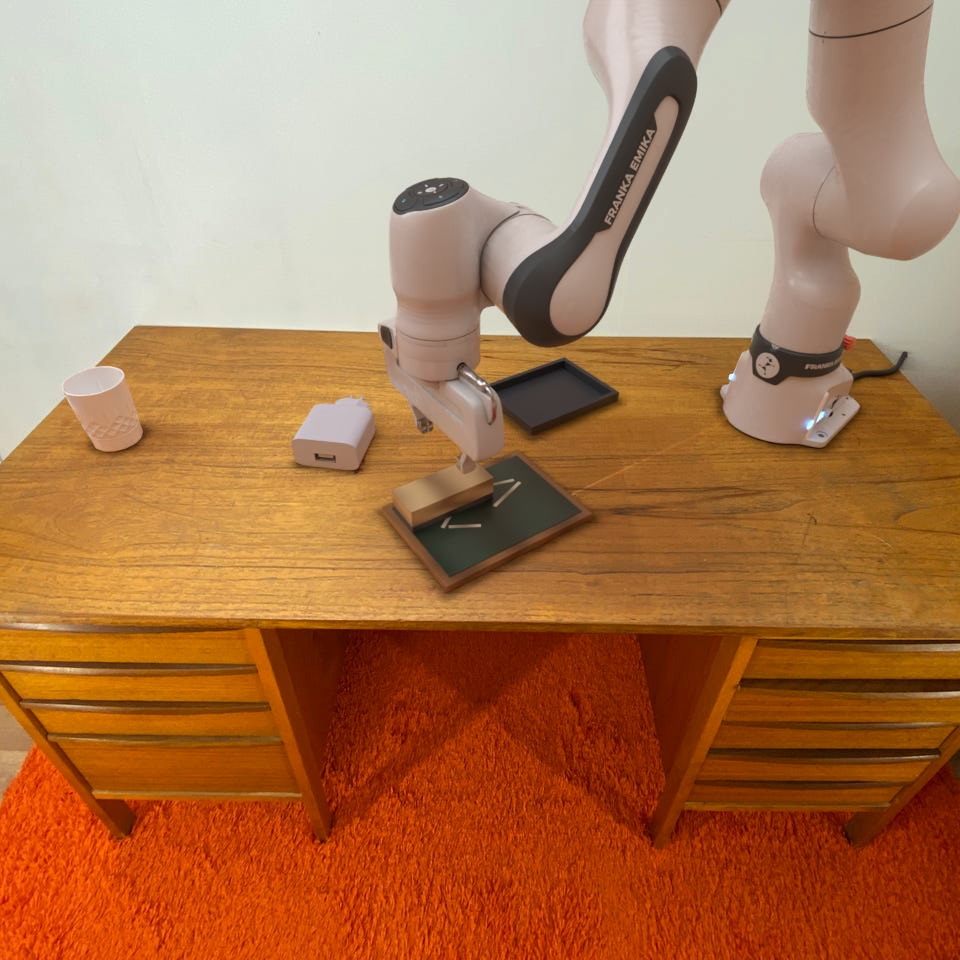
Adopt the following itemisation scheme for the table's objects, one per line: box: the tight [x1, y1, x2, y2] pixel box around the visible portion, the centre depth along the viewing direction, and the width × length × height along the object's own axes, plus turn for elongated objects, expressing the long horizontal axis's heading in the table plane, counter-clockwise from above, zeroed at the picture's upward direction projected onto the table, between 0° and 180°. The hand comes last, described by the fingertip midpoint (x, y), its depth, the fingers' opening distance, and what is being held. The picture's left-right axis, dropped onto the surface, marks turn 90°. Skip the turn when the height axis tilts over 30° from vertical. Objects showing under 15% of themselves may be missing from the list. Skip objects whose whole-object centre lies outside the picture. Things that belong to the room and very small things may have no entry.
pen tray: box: [489, 356, 620, 436], centre depth 103 cm, size 18×14×2 cm
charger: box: [290, 394, 377, 471], centre depth 94 cm, size 5×9×15 cm
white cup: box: [60, 365, 144, 453], centre depth 91 cm, size 8×8×10 cm
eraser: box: [391, 462, 494, 533], centre depth 81 cm, size 12×5×4 cm, turn 124°
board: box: [381, 450, 594, 593], centre depth 82 cm, size 22×16×1 cm
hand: (444, 449), depth 77 cm, fingers open, 8 cm apart
